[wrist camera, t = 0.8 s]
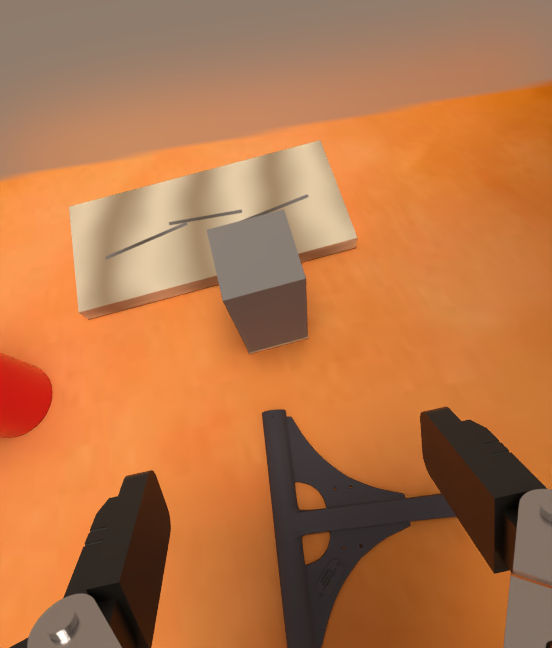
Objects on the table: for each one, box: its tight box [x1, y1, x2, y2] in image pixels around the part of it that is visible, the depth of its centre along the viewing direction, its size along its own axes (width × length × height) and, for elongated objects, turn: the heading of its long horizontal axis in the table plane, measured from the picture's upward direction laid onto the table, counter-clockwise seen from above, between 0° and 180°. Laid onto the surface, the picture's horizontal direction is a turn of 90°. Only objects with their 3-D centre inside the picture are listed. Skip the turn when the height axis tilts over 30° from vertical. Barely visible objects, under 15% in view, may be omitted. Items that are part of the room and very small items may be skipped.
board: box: [69, 140, 357, 319], centre depth 34 cm, size 22×10×2 cm, turn 104°
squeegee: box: [262, 410, 456, 648], centre depth 26 cm, size 14×15×3 cm
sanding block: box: [207, 209, 309, 355], centre depth 27 cm, size 5×5×10 cm
